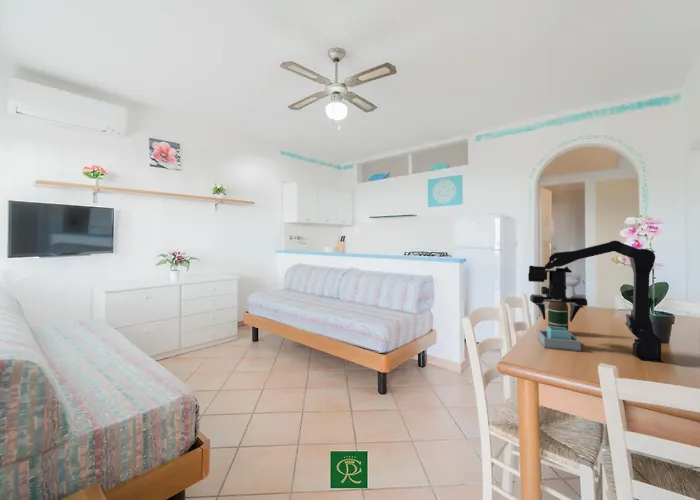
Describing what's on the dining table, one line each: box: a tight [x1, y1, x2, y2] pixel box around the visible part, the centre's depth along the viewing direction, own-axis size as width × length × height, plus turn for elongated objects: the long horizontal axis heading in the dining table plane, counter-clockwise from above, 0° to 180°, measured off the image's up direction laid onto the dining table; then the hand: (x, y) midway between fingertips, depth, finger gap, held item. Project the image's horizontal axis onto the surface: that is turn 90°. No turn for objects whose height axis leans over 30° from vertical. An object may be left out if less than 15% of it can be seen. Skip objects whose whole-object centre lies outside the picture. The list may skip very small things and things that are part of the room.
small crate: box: [546, 325, 571, 340], centre depth 123 cm, size 6×6×6 cm
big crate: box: [537, 329, 582, 352], centre depth 123 cm, size 12×12×4 cm
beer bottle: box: [547, 299, 569, 331], centre depth 140 cm, size 8×8×24 cm
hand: (557, 320), depth 123 cm, fingers open, 9 cm apart
